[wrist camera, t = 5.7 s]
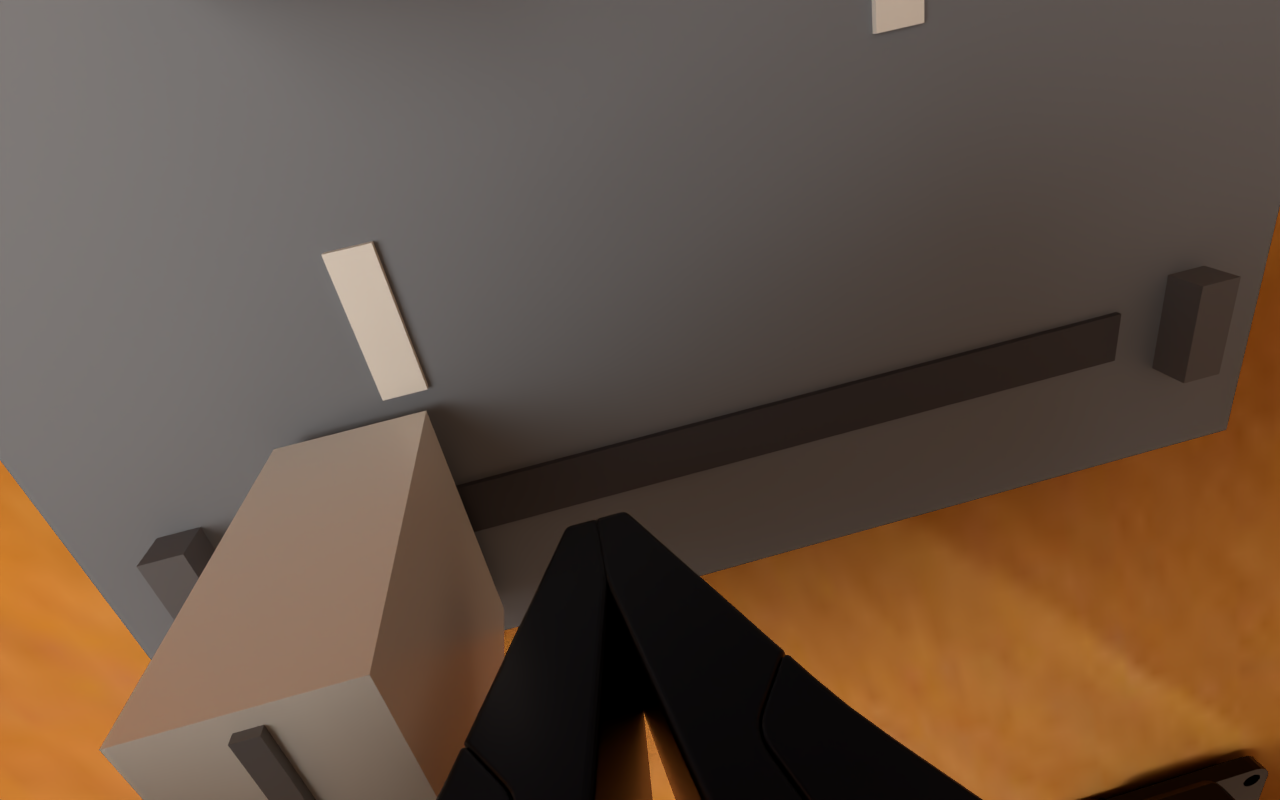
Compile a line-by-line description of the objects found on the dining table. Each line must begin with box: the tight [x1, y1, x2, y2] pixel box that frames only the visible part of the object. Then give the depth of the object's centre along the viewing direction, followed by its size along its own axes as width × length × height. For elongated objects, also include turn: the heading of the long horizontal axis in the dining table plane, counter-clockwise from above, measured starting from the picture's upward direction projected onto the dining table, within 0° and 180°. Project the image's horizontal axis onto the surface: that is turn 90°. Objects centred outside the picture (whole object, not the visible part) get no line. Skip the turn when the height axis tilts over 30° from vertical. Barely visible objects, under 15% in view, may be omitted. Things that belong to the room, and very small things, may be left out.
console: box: [0, 0, 1280, 660], centre depth 9 cm, size 14×18×2 cm
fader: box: [99, 411, 504, 800], centre depth 8 cm, size 4×2×4 cm, turn 11°
